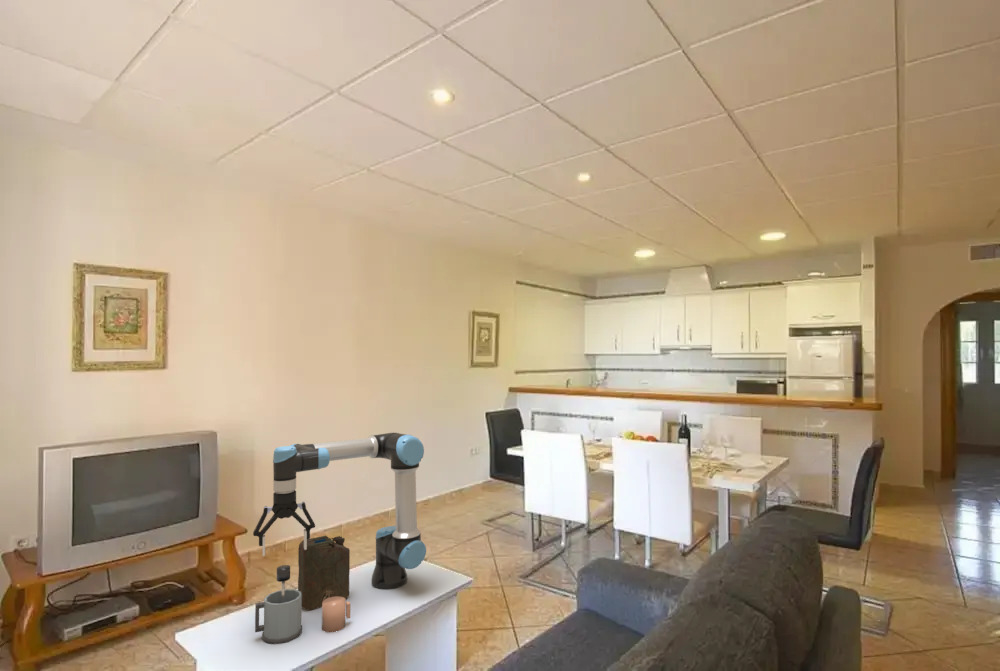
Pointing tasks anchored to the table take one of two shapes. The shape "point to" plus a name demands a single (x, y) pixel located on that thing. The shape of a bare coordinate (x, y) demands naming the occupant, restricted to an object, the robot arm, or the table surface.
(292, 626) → the faceted grey tankard
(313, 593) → the canister
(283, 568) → the plunger
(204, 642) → the table surface
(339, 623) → the peach mug
